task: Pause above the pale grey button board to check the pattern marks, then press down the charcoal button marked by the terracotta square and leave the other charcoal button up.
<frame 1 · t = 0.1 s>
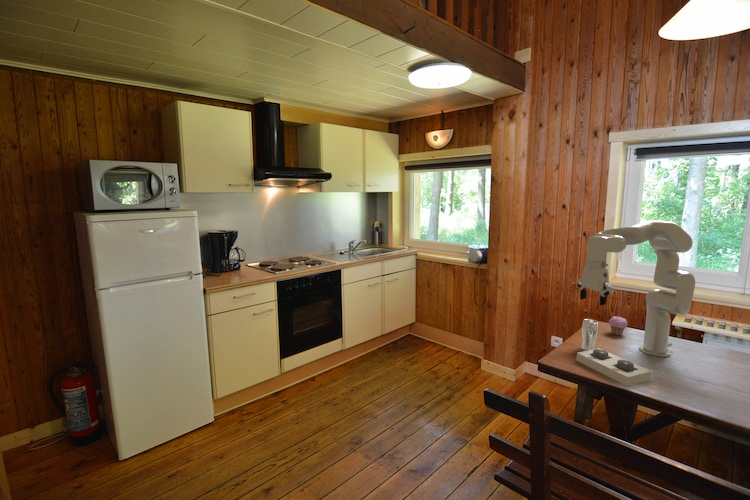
hand: (592, 301, 167), 31 cm above the table, tool pointing down, fingers open, 9 cm apart
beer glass: (588, 349, 191), on the table
button board: (611, 369, 169), on the table
button marked: (625, 366, 163), point 4 cm above the table, slide at 0.0 cm
cupcake: (616, 334, 210), on the table
button plain: (600, 354, 174), point 4 cm above the table, slide at 0.0 cm
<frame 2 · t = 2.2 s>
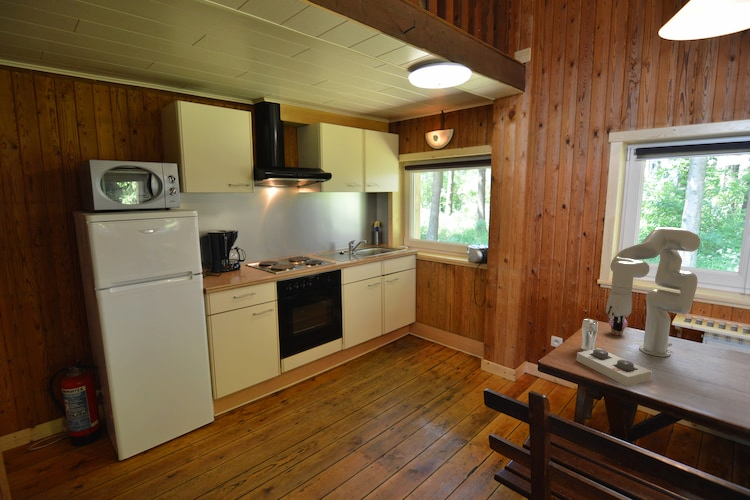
hand: (617, 330, 165), 19 cm above the table, tool pointing down, fingers closed
nothing on the table moved.
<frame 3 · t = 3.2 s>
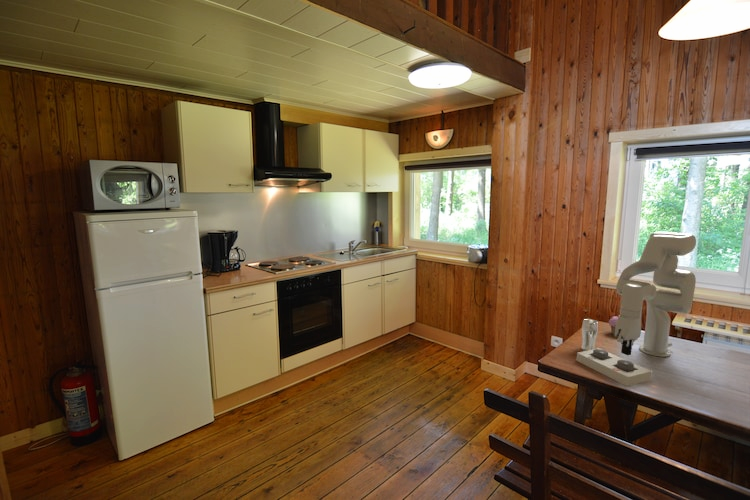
hand: (625, 353, 162), 10 cm above the table, tool pointing down, fingers closed
nothing on the table moved.
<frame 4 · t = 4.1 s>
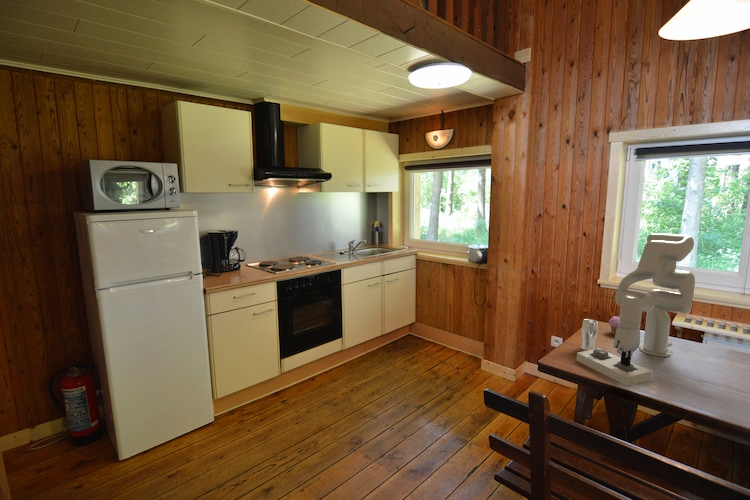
hand: (625, 364, 163), 5 cm above the table, tool pointing down, fingers closed
button marked: (625, 367, 163), point 4 cm above the table, slide at 0.7 cm, touching gripper
everything else where it was.
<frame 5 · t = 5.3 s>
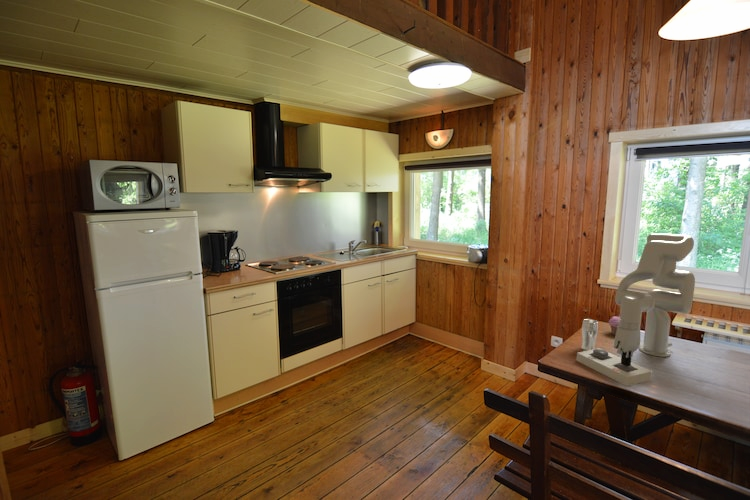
hand: (625, 364, 163), 5 cm above the table, tool pointing down, fingers closed
button marked: (624, 369, 163), point 3 cm above the table, slide at 1.4 cm
everything else where it was.
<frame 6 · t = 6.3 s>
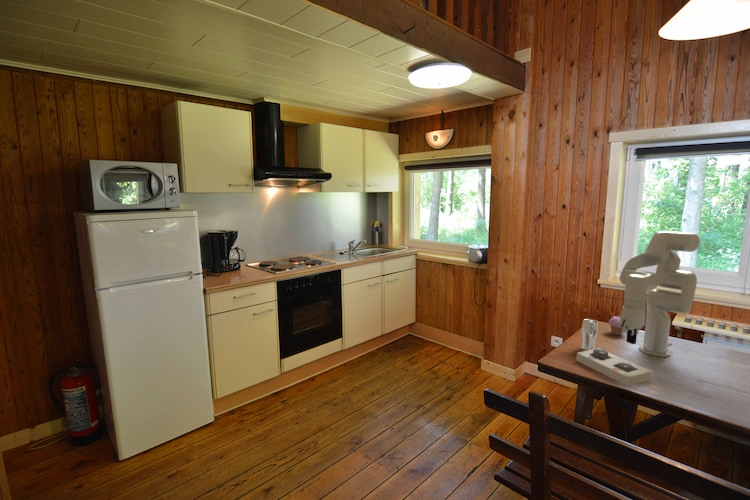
hand: (631, 342, 165), 14 cm above the table, tool pointing down, fingers closed
nothing on the table moved.
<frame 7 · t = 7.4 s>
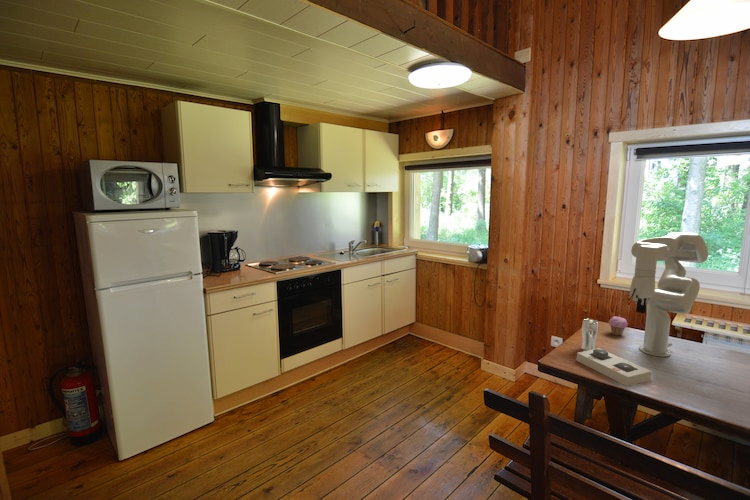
hand: (640, 312, 170), 25 cm above the table, tool pointing down, fingers closed
nothing on the table moved.
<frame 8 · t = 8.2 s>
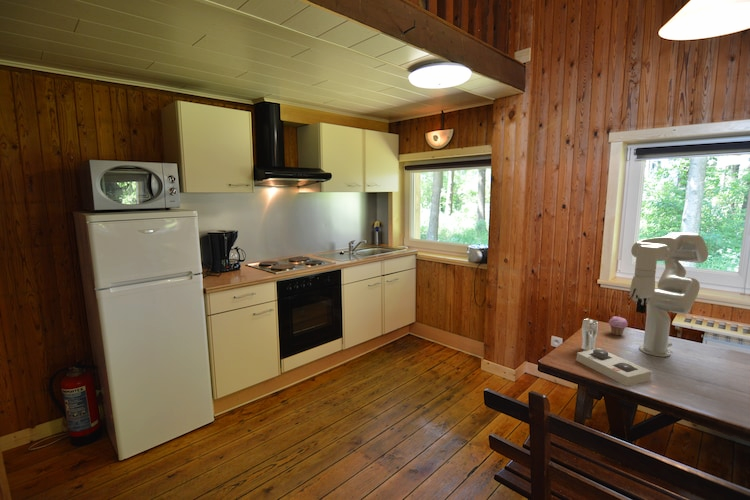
hand: (640, 312, 170), 25 cm above the table, tool pointing down, fingers closed
nothing on the table moved.
at the end: button marked slide at 1.4 cm; button plain slide at 0.0 cm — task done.
